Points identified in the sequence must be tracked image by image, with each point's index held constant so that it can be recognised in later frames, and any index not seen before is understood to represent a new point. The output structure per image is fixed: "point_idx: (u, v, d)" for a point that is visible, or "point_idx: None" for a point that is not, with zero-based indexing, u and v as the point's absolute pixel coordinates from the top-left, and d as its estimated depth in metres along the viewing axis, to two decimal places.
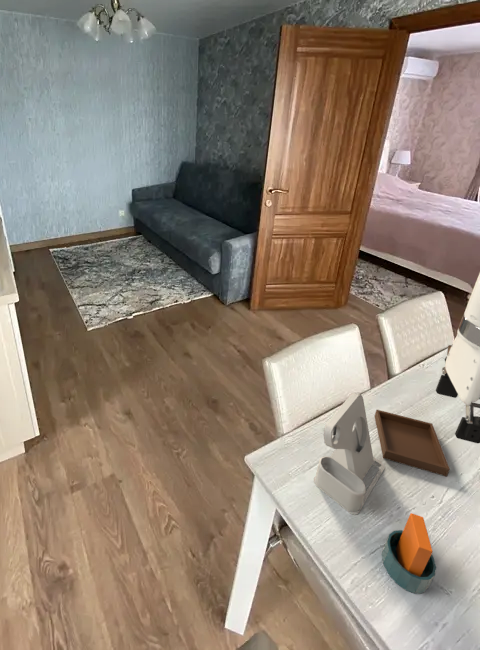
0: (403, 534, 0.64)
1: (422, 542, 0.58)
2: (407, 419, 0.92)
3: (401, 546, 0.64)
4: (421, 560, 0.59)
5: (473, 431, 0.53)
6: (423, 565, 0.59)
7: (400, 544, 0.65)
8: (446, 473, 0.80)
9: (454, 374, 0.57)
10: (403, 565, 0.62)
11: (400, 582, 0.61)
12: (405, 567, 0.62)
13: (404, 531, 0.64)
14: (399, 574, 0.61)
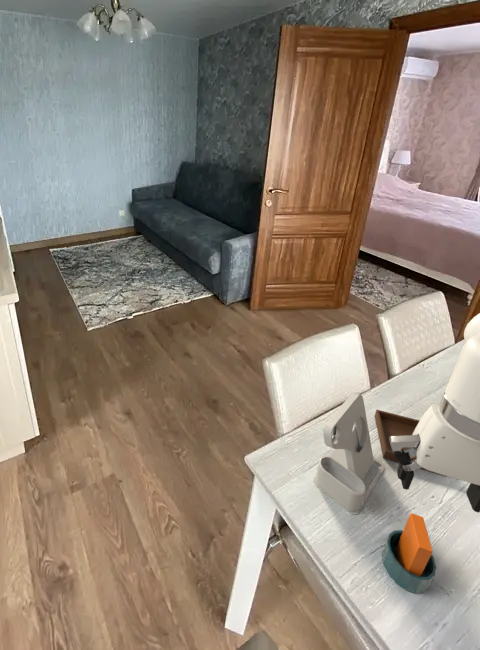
0: (403, 534, 0.64)
1: (422, 542, 0.58)
2: (407, 419, 0.92)
3: (401, 546, 0.64)
4: (421, 560, 0.59)
5: None
6: (423, 565, 0.59)
7: (400, 544, 0.65)
8: None
9: (459, 470, 0.52)
10: (403, 565, 0.62)
11: (400, 582, 0.61)
12: (405, 567, 0.62)
13: (404, 531, 0.64)
14: (399, 574, 0.61)
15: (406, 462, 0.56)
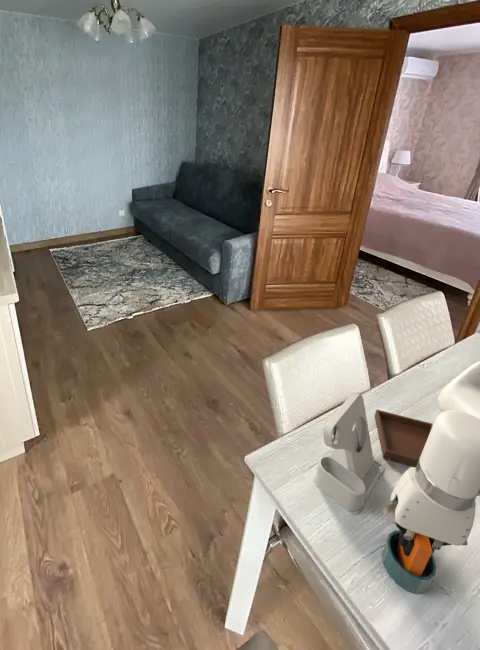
0: None
1: (422, 542, 0.58)
2: (407, 419, 0.92)
3: (401, 546, 0.64)
4: (421, 560, 0.59)
5: None
6: (423, 565, 0.59)
7: None
8: None
9: (432, 531, 0.56)
10: (403, 565, 0.62)
11: (400, 582, 0.61)
12: (405, 567, 0.62)
13: None
14: (399, 574, 0.61)
15: None
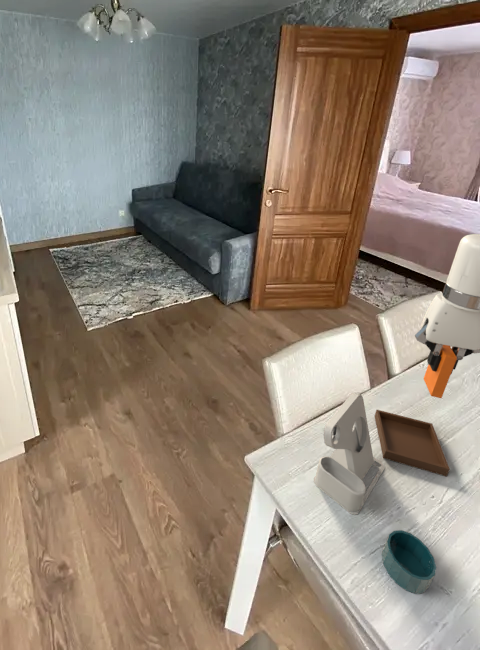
0: None
1: (448, 353, 0.72)
2: (407, 419, 0.92)
3: (429, 371, 0.78)
4: (447, 368, 0.72)
5: None
6: (448, 373, 0.72)
7: (428, 371, 0.78)
8: (446, 473, 0.80)
9: (457, 339, 0.70)
10: (431, 382, 0.76)
11: (400, 582, 0.61)
12: (433, 382, 0.75)
13: None
14: (399, 574, 0.61)
15: None
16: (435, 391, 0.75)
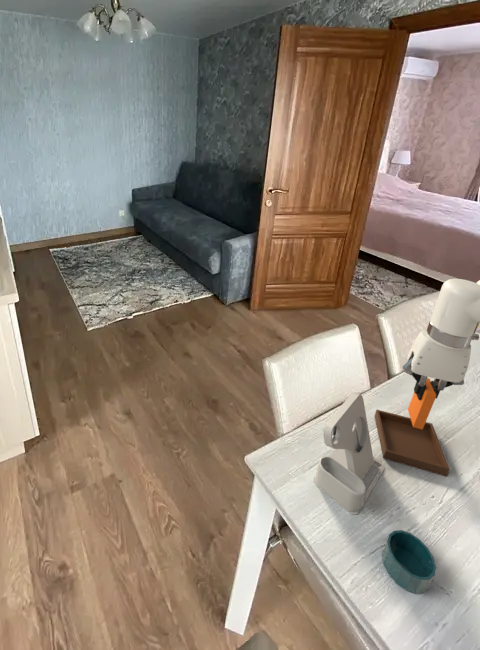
0: (414, 394, 0.85)
1: (428, 390, 0.80)
2: (407, 419, 0.92)
3: (412, 403, 0.86)
4: (428, 404, 0.80)
5: None
6: (429, 408, 0.80)
7: (411, 403, 0.86)
8: (446, 473, 0.80)
9: (439, 372, 0.77)
10: (414, 414, 0.84)
11: (400, 582, 0.61)
12: (415, 414, 0.83)
13: None
14: (399, 574, 0.61)
15: None
16: (417, 423, 0.82)
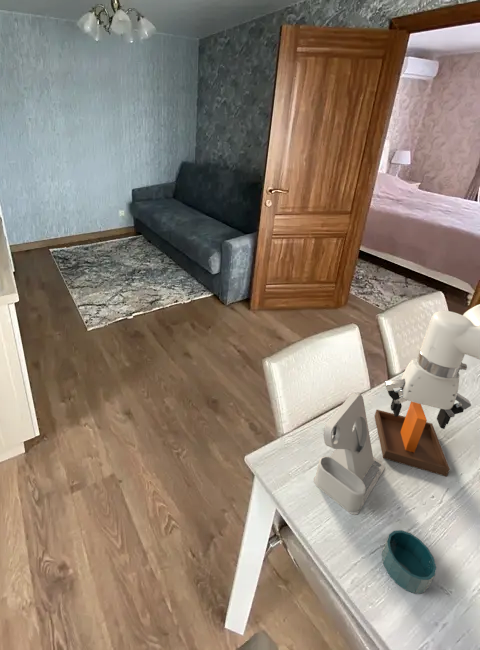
0: (406, 418, 0.88)
1: (419, 415, 0.82)
2: None
3: (404, 426, 0.88)
4: (419, 428, 0.83)
5: None
6: (420, 432, 0.83)
7: (403, 426, 0.89)
8: (446, 473, 0.80)
9: (429, 399, 0.80)
10: (406, 438, 0.86)
11: (400, 582, 0.61)
12: (407, 438, 0.86)
13: (406, 415, 0.88)
14: (399, 574, 0.61)
15: (396, 398, 0.84)
16: (409, 446, 0.85)
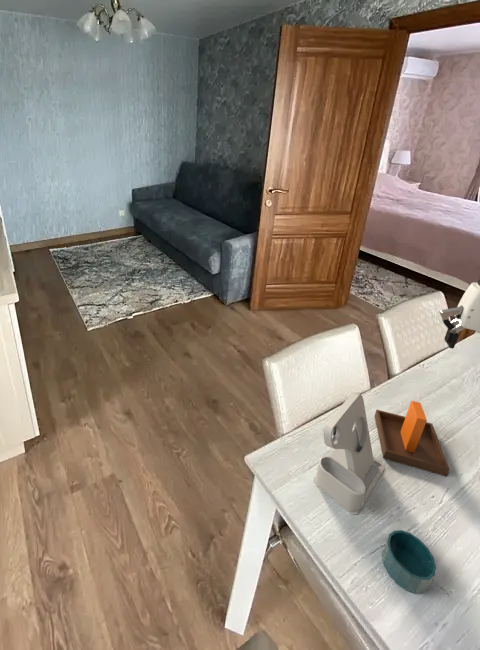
0: (406, 418, 0.88)
1: (419, 415, 0.82)
2: None
3: (404, 426, 0.88)
4: (419, 428, 0.83)
5: None
6: (420, 432, 0.83)
7: (403, 426, 0.89)
8: (446, 473, 0.80)
9: None
10: (406, 438, 0.86)
11: (400, 582, 0.61)
12: (407, 438, 0.86)
13: (406, 415, 0.88)
14: (399, 574, 0.61)
15: (452, 327, 0.78)
16: (409, 446, 0.85)
